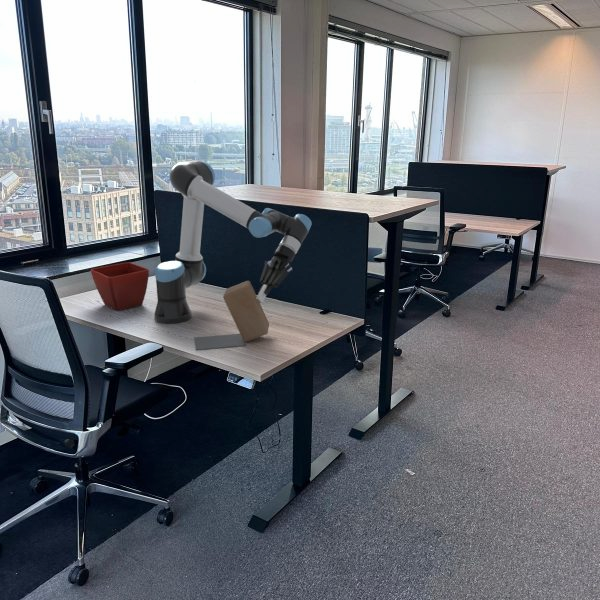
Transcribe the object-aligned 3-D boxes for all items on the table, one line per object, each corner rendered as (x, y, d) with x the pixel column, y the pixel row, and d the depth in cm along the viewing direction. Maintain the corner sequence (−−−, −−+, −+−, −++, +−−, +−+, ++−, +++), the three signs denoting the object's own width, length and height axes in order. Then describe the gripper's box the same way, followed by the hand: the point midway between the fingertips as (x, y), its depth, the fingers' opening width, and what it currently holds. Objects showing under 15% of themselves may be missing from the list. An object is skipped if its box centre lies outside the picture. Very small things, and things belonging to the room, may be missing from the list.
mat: (196, 350, 193) (196, 349, 193) (193, 338, 204) (193, 337, 204) (245, 345, 197) (245, 344, 197) (240, 334, 208) (240, 333, 208)
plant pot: (113, 314, 229) (109, 277, 224) (93, 304, 242) (89, 268, 237) (152, 305, 242) (149, 269, 237) (132, 296, 255) (129, 262, 250)
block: (268, 334, 198) (246, 286, 193) (244, 343, 200) (221, 296, 194) (270, 324, 208) (249, 279, 202) (246, 333, 209) (225, 288, 204)
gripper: (304, 257, 206) (276, 309, 199) (279, 253, 214) (251, 302, 206) (296, 246, 200) (267, 299, 193) (270, 242, 208) (241, 292, 201)
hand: (258, 300), depth 200 cm, fingers closed
